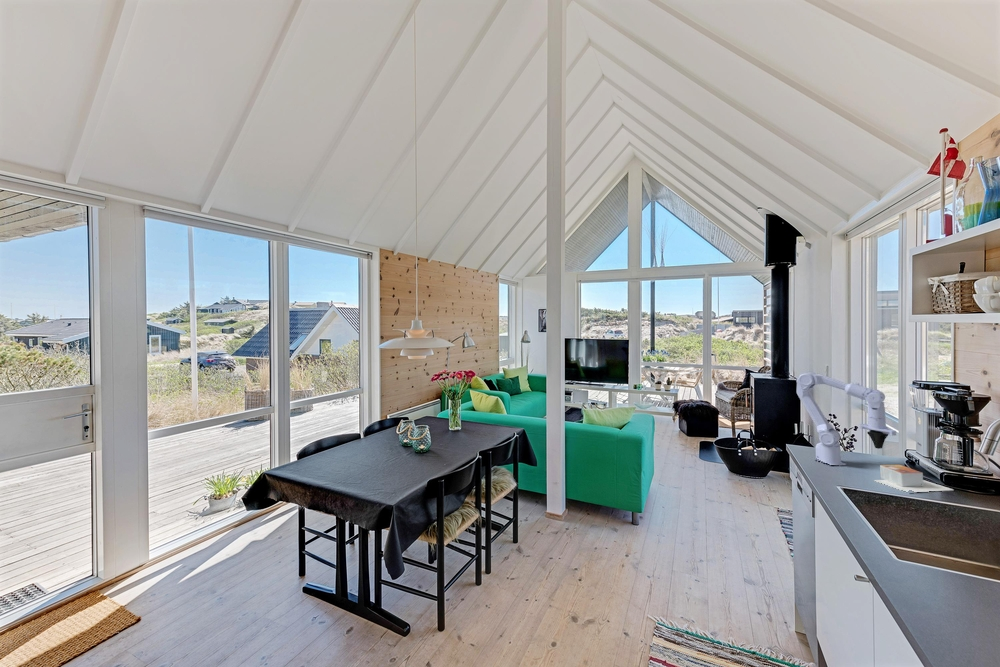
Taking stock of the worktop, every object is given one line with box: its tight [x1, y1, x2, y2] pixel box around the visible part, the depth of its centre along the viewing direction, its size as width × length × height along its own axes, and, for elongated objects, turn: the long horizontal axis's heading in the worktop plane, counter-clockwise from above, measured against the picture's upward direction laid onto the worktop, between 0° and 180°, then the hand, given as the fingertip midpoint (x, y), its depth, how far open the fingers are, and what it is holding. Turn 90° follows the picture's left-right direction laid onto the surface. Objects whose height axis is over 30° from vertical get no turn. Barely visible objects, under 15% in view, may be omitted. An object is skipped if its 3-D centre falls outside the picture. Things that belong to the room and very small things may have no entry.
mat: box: [873, 479, 954, 493], centre depth 162 cm, size 14×18×1 cm
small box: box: [879, 464, 924, 487], centre depth 166 cm, size 8×6×10 cm
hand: (878, 448), depth 180 cm, fingers closed
